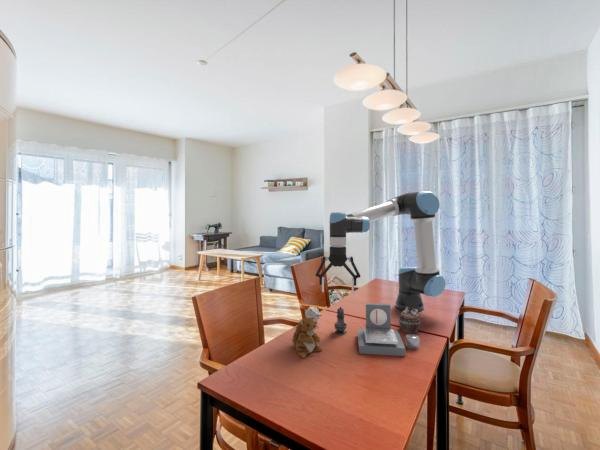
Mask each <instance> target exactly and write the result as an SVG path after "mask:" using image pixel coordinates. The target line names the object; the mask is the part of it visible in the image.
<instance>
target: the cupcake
mask: <svg viewBox="0 0 600 450" xmlns="http://www.w3.org/2000/svg"><path fill="white" fill-rule="evenodd" d="M405 309H406V310H402V312H400V315H399V317H398V322H399V327H400V330H401V331H402V332H404V333H409V334H415V333H418V332H419V330H420V325H421V321H422V319H421V317H420V315H421V314H419V311H418V310H417V308H410V307H406V308H405Z"/></svg>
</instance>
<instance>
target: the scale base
mask: <svg viewBox="0 0 600 450" xmlns="http://www.w3.org/2000/svg"><path fill="white" fill-rule="evenodd" d="M391 310H392V309H391V304H390V303H383V302H382V303H379V302H365V328H378V329H392V328H391V324H392V323H391V319H392V317H391V315H392V314H391ZM394 333H395V335H396V338H397V340H398V344H382V343H366V341H365V334H364V328H363V329H360V328H358V329H357V343H358V351H359V352H358V353H359V354H363V355H364V354H365V355H366V354H367V355H381V356H395V357H397V356H398V357H406V346H405V344H404V342H403V340H402V337H401V335H400V333H399V331H398V330H397V331H396V330H394Z"/></svg>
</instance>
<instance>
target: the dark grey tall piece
mask: <svg viewBox="0 0 600 450" xmlns="http://www.w3.org/2000/svg"><path fill="white" fill-rule="evenodd" d="M344 312H345V311H344V308H342V306H339V307H338V308H337V313H336V319H337V320H336V322H335V323H334V324H333V325H334V328H335V331H334V333H335V334H337V335H339V336H340V335H346V334H347V331H346V330H347V326H348V323H346V322H345V314H344Z"/></svg>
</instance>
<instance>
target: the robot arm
mask: <svg viewBox="0 0 600 450" xmlns="http://www.w3.org/2000/svg"><path fill="white" fill-rule="evenodd" d="M439 209H440V200H439V198H438V196H437V195H436V194H435V193H434V192H432V191H427V190H426V191H425V190H424V191H423V190H421V191H415V192H406V193H403V194H400V195H398V196H395V197H393V198H390V199H388V200H387V201H385V202H383V203H381V204H375V205H374V206H371V207H367V208H364V209H362V210H358V211H355V212H351V213H350V214H347V213H346V211H345V212H342V211H341V212H335V211H333V212H331V213H330V214H329V256H325V255H323V256H322V259H321V260H322V261H321V263H320V265H319V266H318V268H317V271H316V273H315V277H317V278H319V285H321V293H324V292H325V277H324V276H325V275H326V273H327V272H328V271H329V270H330V268H332V267H335V268H337V267H340V268H341V267H344V268H345V270H347V272H348V273H349V274H350V276H352V277H351V293H352V294H354V293H355V289H354V288H355V287H356V286H357V279H359V278H361V274H360V271H359V269H358V268H357V266H356V264H355V262H354V258H353V256H347V247H346V246H347V234H350V233H351V234H353V233H359V234H360V233H367V232H368V231H369V230H370V227H371V223H372V222H373V223H374V222H375V221H376V222H377V221H378V220H381V219H384V218H387V217H390V216H392V217H397V216H399V215H409V216H410V220H411V221H413V223H414V225H413V226H414V234H415V235H414V238H415V247H416V248H415V249H416V258H417V266H402V267H399V268H398V294H397V297H396V299H395V307H396V308H397V309H399V310H402V311H404V310H406V309H405V308H406V307H410V308H417V310H418V312H421V311H423V310H424V309H425V303H424V300H423V298H422V295H425V296H426V297H432V298H436V297H440V295H442V294H443V292H444V291H445V289H446V285H447V284H446V283H447V282H446V279H445V277H444V276H442V275H441V272H440V268H439V267H438V266H437V264H436V263H437V262H436V254H435V253H436V251H435V239H434V238H435V237H434V226H433V225H434V224H433V220H434V219H435V218H436V214H437V213H438V212H439ZM327 261H329V262H330V263H329V264H328V265H327V267H326V268H325V269H324V270H323V271H322V269H323V267H324V264H325V262H327ZM347 261H348V262H350V264H351V266H352V268H353V270H354V272H355V273H354V272H353V270H352V269H351V268H350V267H349V266H348V265H347V263H346V262H347ZM321 271H322V272H321ZM354 286H355V287H354Z"/></svg>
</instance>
